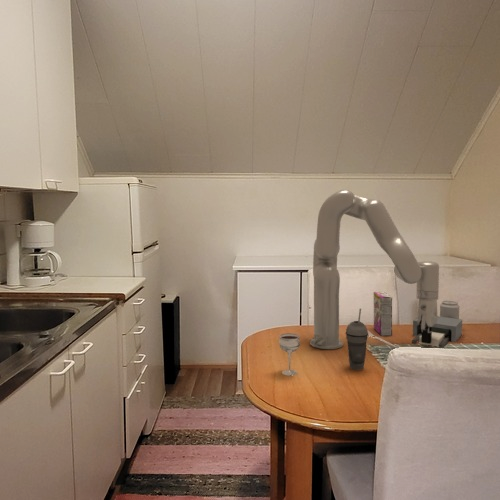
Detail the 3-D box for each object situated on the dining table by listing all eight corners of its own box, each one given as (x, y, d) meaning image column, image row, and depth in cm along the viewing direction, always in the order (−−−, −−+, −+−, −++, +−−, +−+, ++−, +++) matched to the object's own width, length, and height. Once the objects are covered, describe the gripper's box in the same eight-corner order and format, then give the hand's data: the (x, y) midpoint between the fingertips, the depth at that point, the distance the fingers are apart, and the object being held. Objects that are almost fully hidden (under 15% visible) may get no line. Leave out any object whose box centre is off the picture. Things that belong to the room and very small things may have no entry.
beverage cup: (351, 362, 143) (351, 304, 141) (371, 366, 138) (372, 307, 137) (341, 368, 137) (341, 308, 136) (362, 373, 133) (362, 311, 131)
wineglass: (274, 372, 135) (274, 336, 134) (288, 367, 140) (288, 331, 139) (291, 378, 130) (290, 340, 129) (304, 372, 135) (304, 336, 134)
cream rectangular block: (438, 347, 157) (438, 340, 156) (419, 344, 161) (419, 336, 161) (444, 341, 165) (444, 333, 164) (425, 337, 169) (426, 330, 169)
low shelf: (449, 349, 154) (450, 332, 153) (405, 341, 164) (405, 326, 163) (461, 334, 172) (462, 319, 171) (421, 328, 181) (421, 314, 181)
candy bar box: (372, 328, 183) (373, 291, 181) (384, 328, 183) (384, 291, 181) (380, 336, 172) (380, 296, 170) (392, 336, 171) (392, 296, 170)
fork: (396, 351, 156) (396, 346, 155) (362, 335, 174) (362, 331, 174) (403, 350, 157) (403, 345, 156) (369, 334, 175) (369, 330, 175)
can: (440, 330, 177) (441, 303, 176) (438, 326, 184) (439, 299, 183) (460, 332, 175) (461, 304, 174) (457, 327, 182) (457, 300, 181)
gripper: (432, 299, 148) (431, 349, 150) (443, 292, 160) (441, 339, 161) (410, 296, 152) (410, 345, 154) (422, 290, 164) (421, 335, 166)
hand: (426, 342), depth 158 cm, fingers closed
